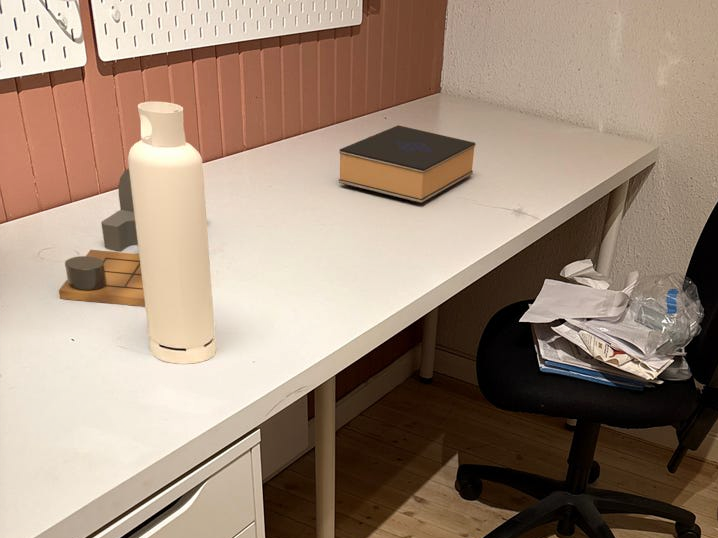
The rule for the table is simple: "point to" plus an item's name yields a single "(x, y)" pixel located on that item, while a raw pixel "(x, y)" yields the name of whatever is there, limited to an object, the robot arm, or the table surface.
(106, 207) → the table surface
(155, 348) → the bottle
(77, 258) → the cylinder
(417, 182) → the book
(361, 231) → the table surface
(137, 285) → the board
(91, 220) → the table surface
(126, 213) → the bracket
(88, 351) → the table surface
